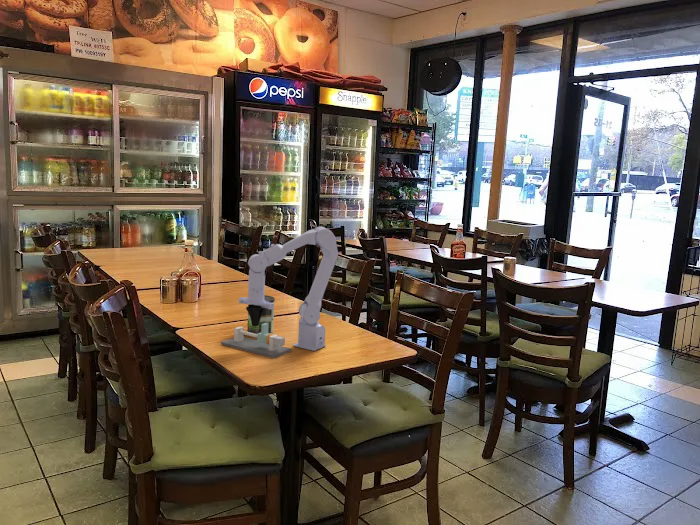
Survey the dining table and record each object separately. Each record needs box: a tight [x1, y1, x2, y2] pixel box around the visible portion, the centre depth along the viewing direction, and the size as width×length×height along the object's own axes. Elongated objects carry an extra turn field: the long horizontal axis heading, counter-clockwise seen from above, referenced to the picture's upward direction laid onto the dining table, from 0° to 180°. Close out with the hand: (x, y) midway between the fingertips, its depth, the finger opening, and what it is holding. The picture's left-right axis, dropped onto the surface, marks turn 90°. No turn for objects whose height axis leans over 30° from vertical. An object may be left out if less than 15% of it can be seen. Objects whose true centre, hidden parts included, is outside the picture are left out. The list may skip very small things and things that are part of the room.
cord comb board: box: [220, 325, 292, 359], centre depth 199 cm, size 24×10×6 cm, turn 60°
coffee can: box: [246, 294, 276, 334], centre depth 218 cm, size 10×10×14 cm
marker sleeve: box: [256, 323, 269, 344], centre depth 197 cm, size 4×3×7 cm
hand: (255, 325), depth 199 cm, fingers closed
